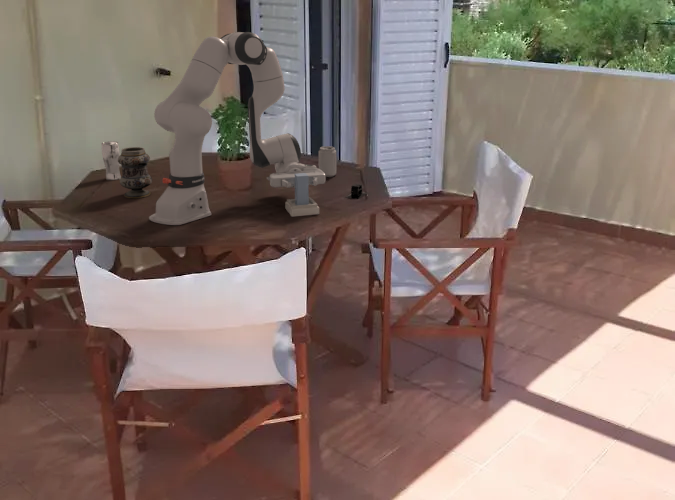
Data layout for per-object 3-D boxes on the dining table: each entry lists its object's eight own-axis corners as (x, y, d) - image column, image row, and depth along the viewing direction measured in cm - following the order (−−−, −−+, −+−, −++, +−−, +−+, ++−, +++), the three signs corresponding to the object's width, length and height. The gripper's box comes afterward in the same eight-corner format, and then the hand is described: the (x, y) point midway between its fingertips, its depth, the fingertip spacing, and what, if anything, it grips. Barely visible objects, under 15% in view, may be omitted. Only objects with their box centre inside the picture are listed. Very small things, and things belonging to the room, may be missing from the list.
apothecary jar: (152, 189, 293) (147, 144, 287) (154, 197, 283) (150, 151, 276) (120, 192, 290) (115, 146, 284) (121, 200, 279) (116, 153, 273)
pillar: (308, 205, 264) (308, 175, 260) (297, 206, 263) (297, 176, 259) (305, 202, 268) (305, 172, 264) (295, 203, 267) (294, 173, 263)
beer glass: (121, 175, 314) (118, 140, 308) (122, 179, 307) (119, 144, 302) (104, 177, 312) (100, 141, 306) (105, 181, 305) (101, 145, 300)
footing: (319, 214, 263) (319, 204, 262) (291, 216, 260) (291, 207, 259) (312, 206, 272) (312, 197, 271) (285, 208, 269) (285, 199, 268)
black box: (358, 201, 279) (358, 190, 278) (340, 199, 282) (340, 187, 281) (371, 193, 290) (371, 182, 288) (354, 191, 293) (354, 180, 291)
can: (339, 175, 313) (339, 147, 309) (325, 178, 309) (324, 150, 305) (329, 172, 319) (329, 144, 315) (315, 174, 315) (315, 146, 311)
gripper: (265, 168, 270) (273, 177, 258) (319, 164, 276) (329, 173, 263) (265, 185, 273) (273, 195, 260) (319, 181, 278) (329, 190, 266)
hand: (302, 184), depth 262 cm, fingers open, 8 cm apart
